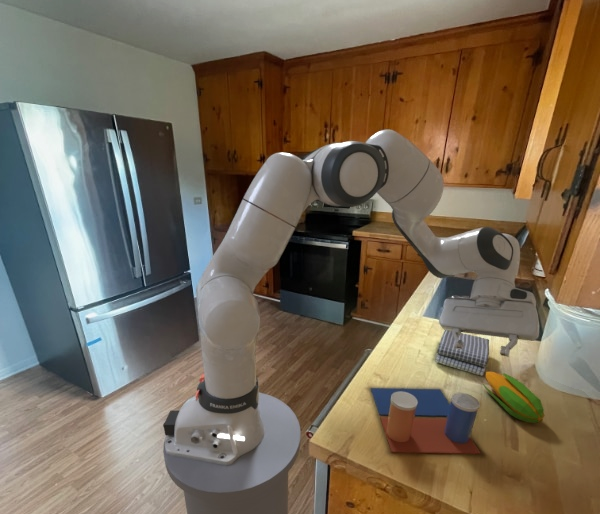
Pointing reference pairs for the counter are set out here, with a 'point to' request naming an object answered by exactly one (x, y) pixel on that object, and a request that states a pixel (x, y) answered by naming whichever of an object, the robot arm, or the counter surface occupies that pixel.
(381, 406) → the blue mat
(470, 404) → the blue canister
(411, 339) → the counter surface
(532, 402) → the corn
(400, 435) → the terracotta canister
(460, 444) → the terracotta mat
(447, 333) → the towel
